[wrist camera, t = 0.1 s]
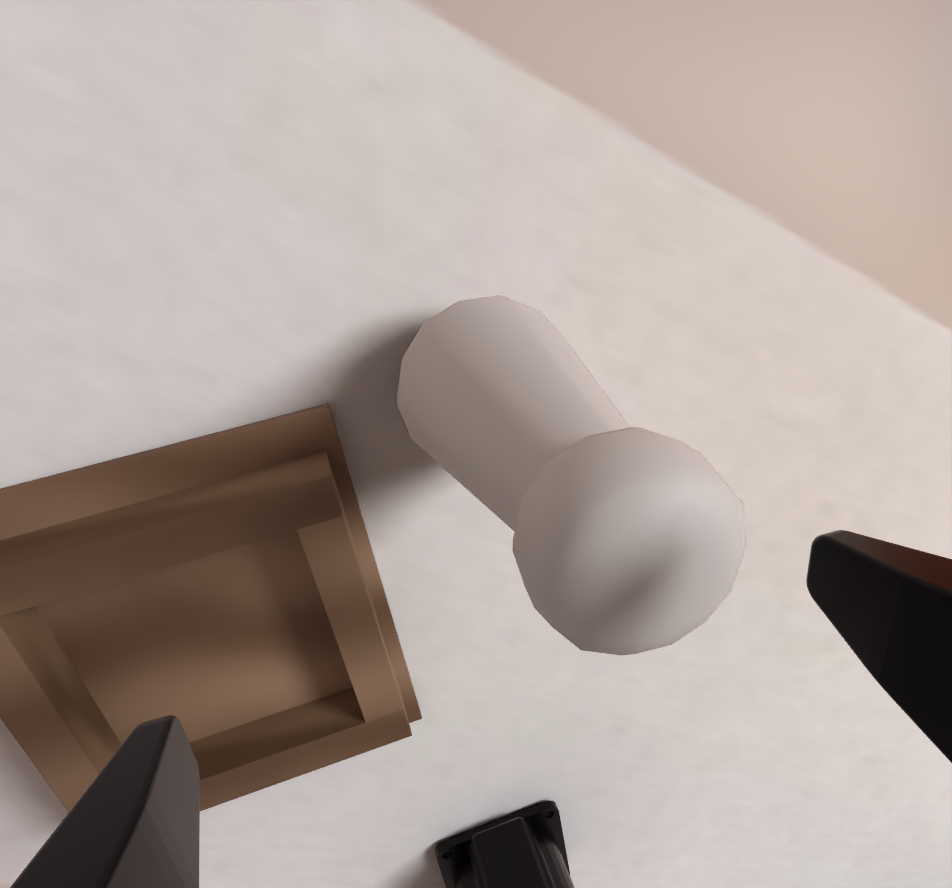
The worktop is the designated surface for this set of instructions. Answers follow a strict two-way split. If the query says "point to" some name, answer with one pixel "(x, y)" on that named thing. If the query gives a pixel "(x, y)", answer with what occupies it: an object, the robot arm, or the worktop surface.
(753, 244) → the worktop surface
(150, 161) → the worktop surface
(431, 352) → the salt shaker
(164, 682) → the brown flat rectangular frame
